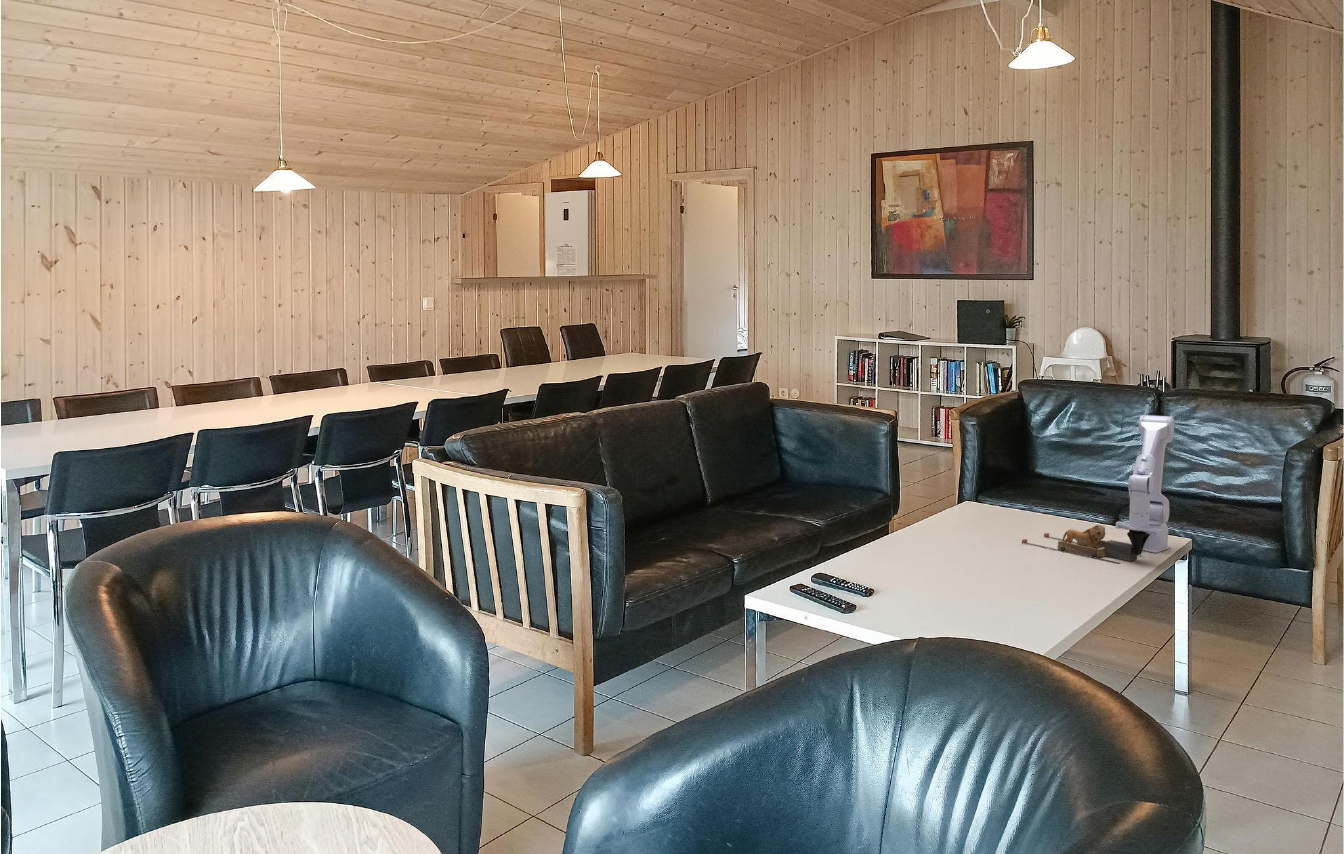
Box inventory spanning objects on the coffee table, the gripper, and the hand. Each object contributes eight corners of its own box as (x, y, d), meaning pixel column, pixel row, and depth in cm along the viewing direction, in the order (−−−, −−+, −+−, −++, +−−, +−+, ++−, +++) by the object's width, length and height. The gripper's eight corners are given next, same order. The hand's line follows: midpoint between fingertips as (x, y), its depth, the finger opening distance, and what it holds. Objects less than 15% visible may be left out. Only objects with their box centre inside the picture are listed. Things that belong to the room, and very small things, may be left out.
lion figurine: (1105, 550, 348) (1106, 523, 346) (1104, 554, 343) (1105, 527, 342) (1057, 546, 354) (1058, 520, 352) (1056, 550, 349) (1057, 523, 348)
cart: (1079, 542, 356) (1080, 529, 356) (1144, 556, 338) (1145, 542, 338) (1056, 549, 349) (1057, 536, 348) (1122, 563, 330) (1122, 549, 330)
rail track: (1046, 536, 367) (1046, 532, 367) (1142, 556, 339) (1142, 552, 339) (1021, 543, 359) (1022, 539, 359) (1118, 564, 331) (1118, 560, 331)
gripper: (1110, 510, 334) (1109, 551, 336) (1155, 517, 323) (1153, 561, 325) (1123, 506, 339) (1121, 548, 341) (1167, 514, 327) (1165, 556, 329)
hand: (1137, 554), depth 333 cm, fingers closed
